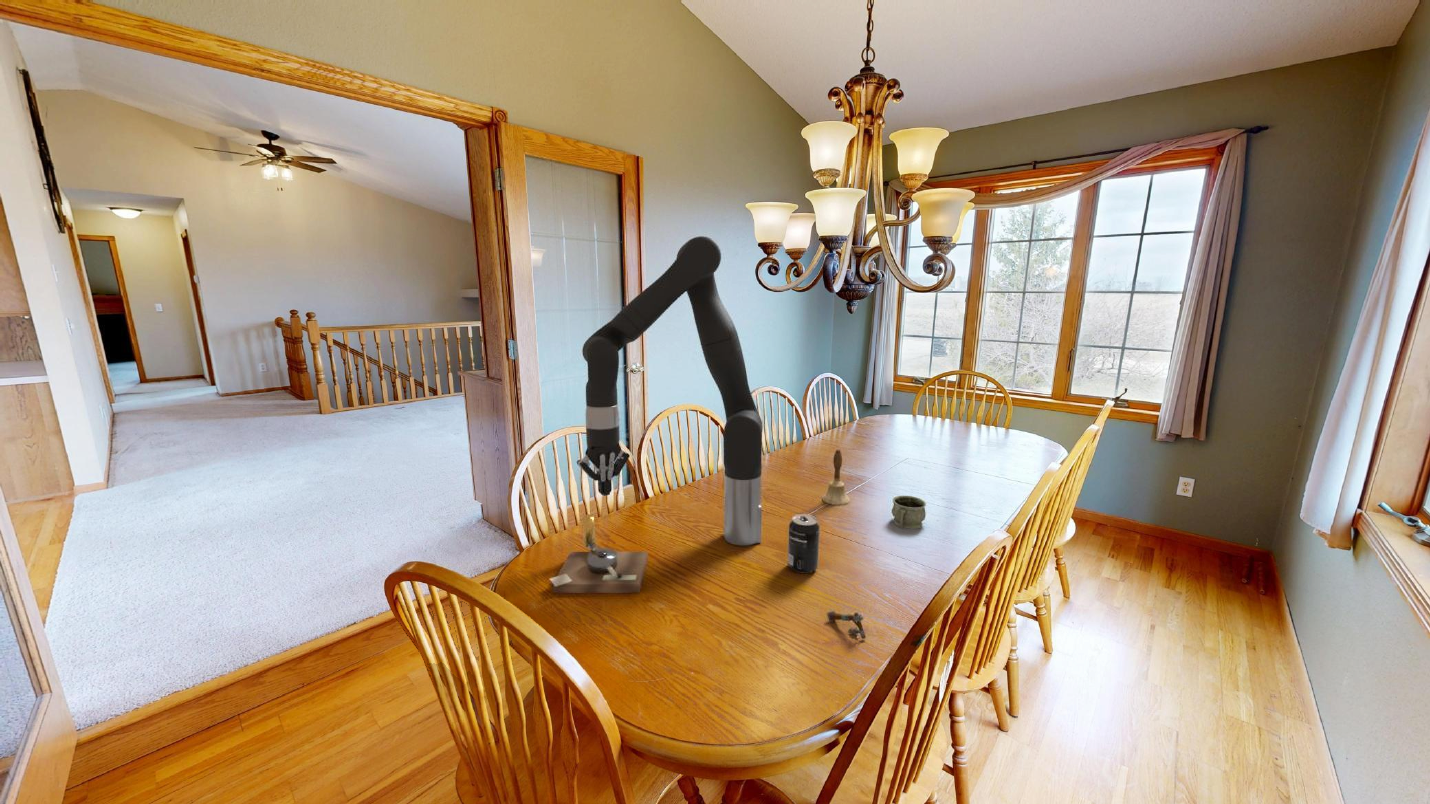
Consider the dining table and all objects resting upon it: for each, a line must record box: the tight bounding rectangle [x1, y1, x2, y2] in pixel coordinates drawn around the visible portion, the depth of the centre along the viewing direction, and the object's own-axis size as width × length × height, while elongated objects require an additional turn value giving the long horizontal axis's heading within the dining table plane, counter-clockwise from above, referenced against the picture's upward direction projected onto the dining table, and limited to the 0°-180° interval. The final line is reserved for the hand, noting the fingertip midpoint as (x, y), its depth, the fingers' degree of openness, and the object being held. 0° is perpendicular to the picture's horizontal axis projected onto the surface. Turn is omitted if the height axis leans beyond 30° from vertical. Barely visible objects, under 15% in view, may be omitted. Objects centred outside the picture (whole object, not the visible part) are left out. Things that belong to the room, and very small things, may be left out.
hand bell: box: [821, 449, 851, 506], centre depth 157 cm, size 8×8×16 cm
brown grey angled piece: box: [826, 609, 867, 640], centre depth 97 cm, size 2×8×4 cm, turn 37°
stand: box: [549, 551, 648, 594], centre depth 116 cm, size 19×15×3 cm
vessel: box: [891, 495, 927, 529], centre depth 143 cm, size 12×9×6 cm
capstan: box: [582, 514, 618, 577], centre depth 116 cm, size 18×6×8 cm, turn 30°
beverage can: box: [787, 513, 821, 574], centre depth 118 cm, size 7×7×12 cm
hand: (605, 494), depth 124 cm, fingers closed
